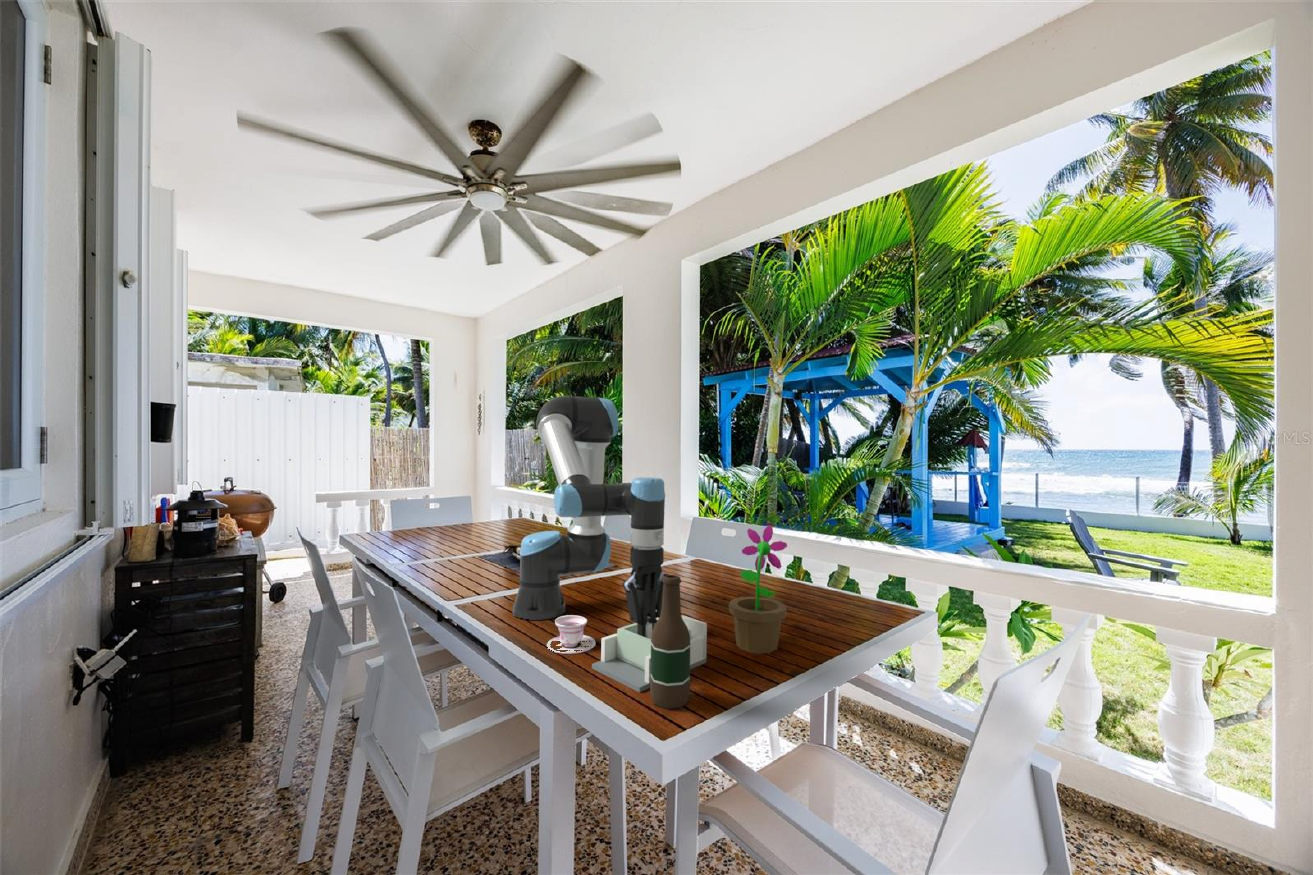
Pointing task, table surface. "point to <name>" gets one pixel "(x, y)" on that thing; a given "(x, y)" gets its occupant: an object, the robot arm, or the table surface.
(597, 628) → the table surface
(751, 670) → the table surface
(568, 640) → the teacup
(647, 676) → the box
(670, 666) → the beer bottle
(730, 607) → the flowerpot
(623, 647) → the crate
